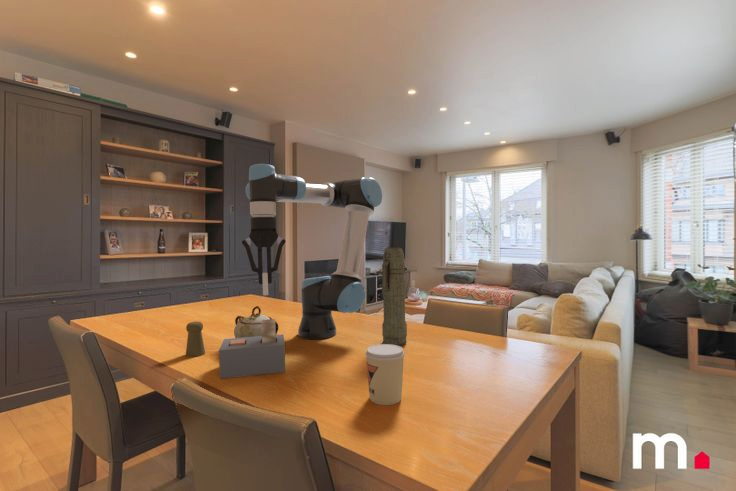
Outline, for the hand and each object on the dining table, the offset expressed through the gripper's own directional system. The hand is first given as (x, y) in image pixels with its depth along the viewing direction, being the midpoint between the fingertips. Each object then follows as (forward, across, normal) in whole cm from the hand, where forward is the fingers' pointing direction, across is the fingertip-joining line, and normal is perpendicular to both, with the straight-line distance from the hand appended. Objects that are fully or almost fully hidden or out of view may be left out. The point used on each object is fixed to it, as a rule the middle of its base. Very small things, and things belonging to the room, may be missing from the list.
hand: (265, 294), depth 114 cm
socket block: (+22, +4, 0) cm, 22 cm away
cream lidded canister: (+22, -28, +31) cm, 48 cm away
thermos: (+23, -45, -13) cm, 52 cm away
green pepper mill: (+22, +24, -19) cm, 38 cm away
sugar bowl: (+22, +4, -21) cm, 31 cm away
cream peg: (+16, 0, 0) cm, 16 cm away
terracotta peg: (+22, +8, 0) cm, 23 cm away
